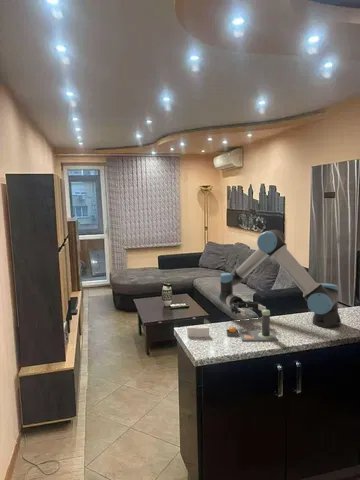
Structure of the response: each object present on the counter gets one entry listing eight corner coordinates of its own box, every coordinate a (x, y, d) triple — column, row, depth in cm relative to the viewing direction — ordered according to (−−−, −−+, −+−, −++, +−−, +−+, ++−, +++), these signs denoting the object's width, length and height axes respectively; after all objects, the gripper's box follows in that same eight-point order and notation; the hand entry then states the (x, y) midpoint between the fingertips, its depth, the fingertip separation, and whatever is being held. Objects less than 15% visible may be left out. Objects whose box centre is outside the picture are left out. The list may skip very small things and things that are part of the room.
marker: (269, 333, 187) (269, 309, 186) (270, 336, 183) (270, 312, 182) (261, 333, 187) (261, 309, 186) (262, 336, 183) (262, 312, 182)
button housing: (237, 331, 193) (237, 329, 193) (238, 336, 187) (238, 333, 187) (226, 332, 193) (226, 329, 193) (227, 336, 187) (227, 333, 187)
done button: (235, 331, 192) (235, 326, 192) (236, 333, 188) (236, 329, 188) (228, 331, 192) (228, 326, 192) (229, 333, 188) (229, 329, 188)
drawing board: (273, 332, 191) (273, 330, 191) (278, 341, 179) (278, 339, 179) (239, 332, 192) (239, 330, 192) (242, 341, 180) (242, 339, 180)
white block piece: (215, 335, 190) (214, 325, 189) (203, 343, 181) (203, 332, 180) (192, 330, 199) (192, 320, 198) (180, 336, 190) (179, 326, 189)
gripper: (252, 305, 218) (273, 314, 198) (216, 311, 208) (235, 321, 189) (252, 293, 217) (273, 301, 197) (216, 298, 208) (235, 308, 188)
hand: (255, 311), depth 193 cm, fingers open, 13 cm apart
